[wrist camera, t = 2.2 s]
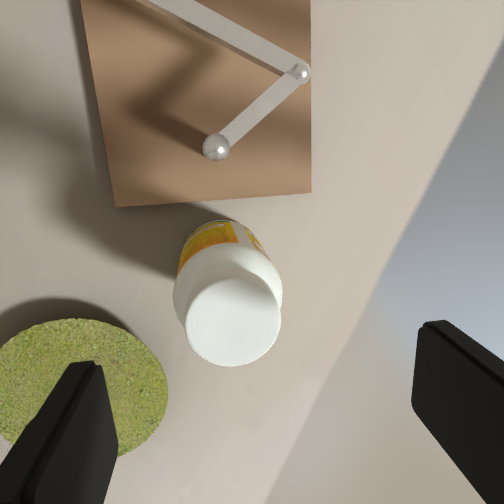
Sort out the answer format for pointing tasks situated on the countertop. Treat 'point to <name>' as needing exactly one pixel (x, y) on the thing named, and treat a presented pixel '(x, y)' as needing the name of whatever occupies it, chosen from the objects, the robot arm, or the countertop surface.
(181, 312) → the supplement bottle
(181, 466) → the countertop surface
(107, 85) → the wire board
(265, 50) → the bent wire
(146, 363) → the yellow-green flat disc
